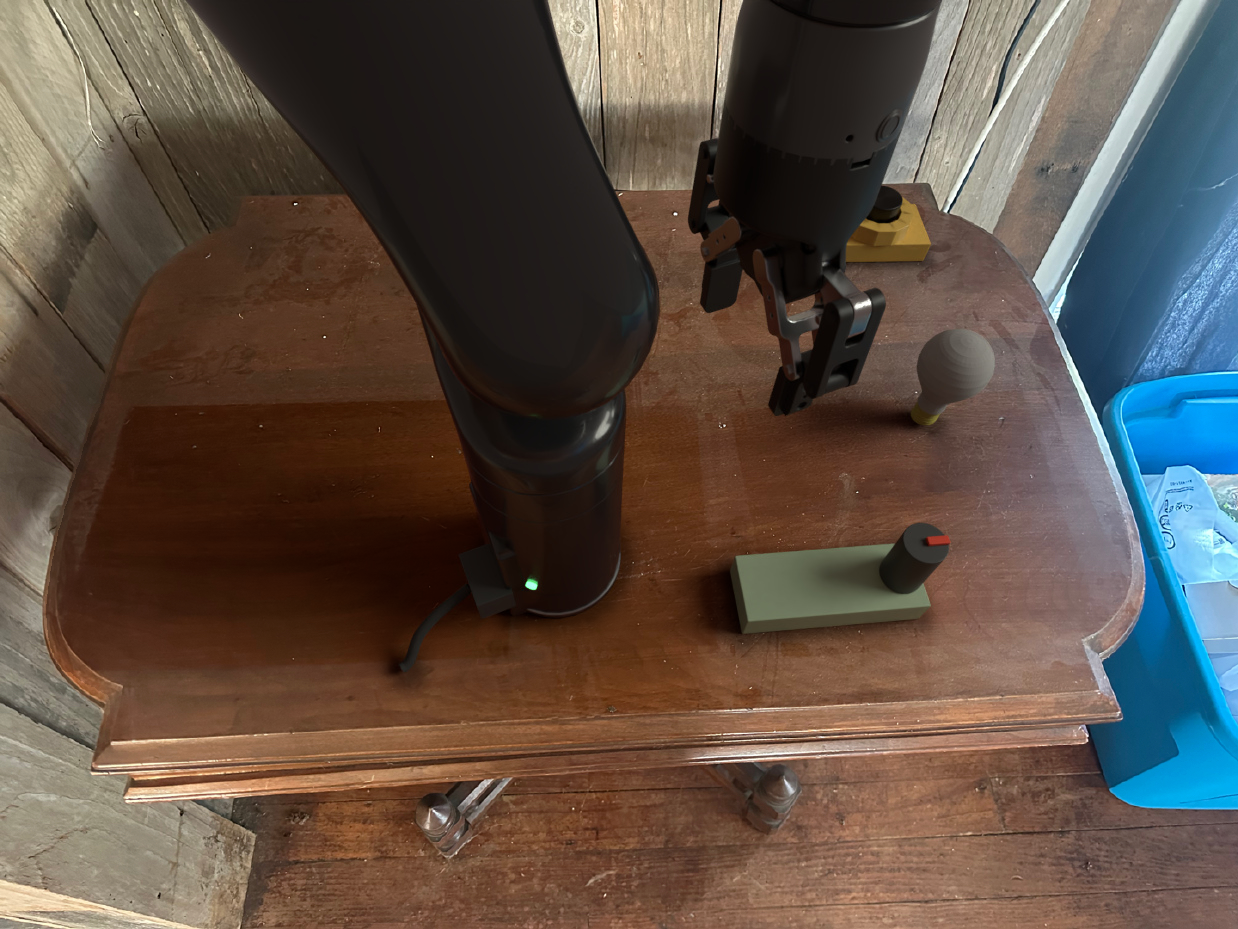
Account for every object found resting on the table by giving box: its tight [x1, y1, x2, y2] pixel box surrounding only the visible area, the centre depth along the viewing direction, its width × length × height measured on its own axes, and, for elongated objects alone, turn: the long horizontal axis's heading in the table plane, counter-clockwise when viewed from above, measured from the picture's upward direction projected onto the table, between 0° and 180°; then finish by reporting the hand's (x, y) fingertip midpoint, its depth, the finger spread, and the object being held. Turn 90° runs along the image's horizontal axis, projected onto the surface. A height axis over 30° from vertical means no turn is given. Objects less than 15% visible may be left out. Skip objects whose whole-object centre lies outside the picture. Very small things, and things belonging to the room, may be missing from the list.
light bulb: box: [910, 328, 996, 427], centre depth 60 cm, size 5×6×10 cm
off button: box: [866, 185, 903, 223], centre depth 72 cm, size 4×4×2 cm
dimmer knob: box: [879, 522, 952, 594], centre depth 51 cm, size 3×3×5 cm
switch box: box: [846, 196, 932, 263], centre depth 74 cm, size 10×6×4 cm, turn 92°
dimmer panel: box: [729, 542, 932, 635], centre depth 54 cm, size 13×5×2 cm, turn 95°
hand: (750, 354), depth 45 cm, fingers open, 8 cm apart
